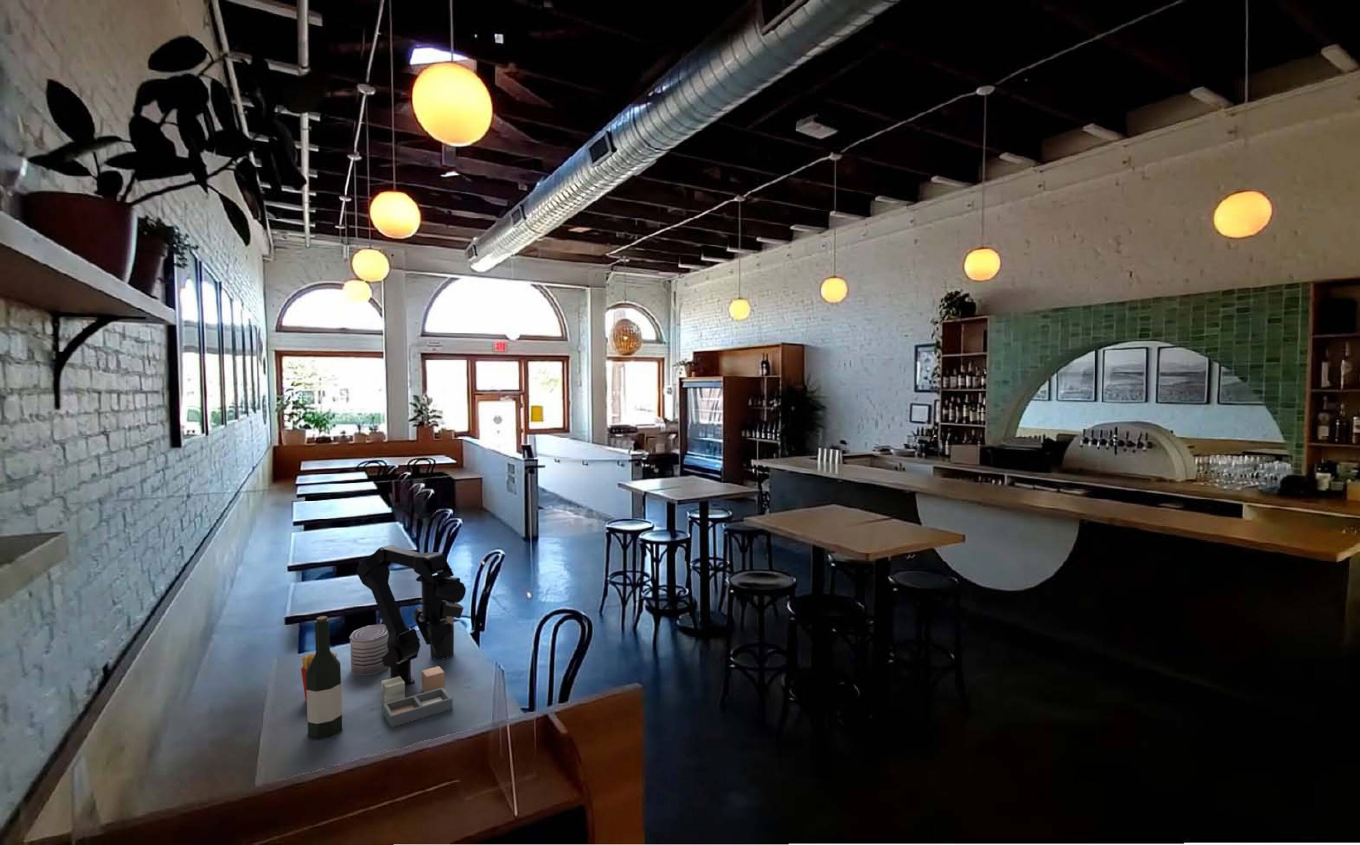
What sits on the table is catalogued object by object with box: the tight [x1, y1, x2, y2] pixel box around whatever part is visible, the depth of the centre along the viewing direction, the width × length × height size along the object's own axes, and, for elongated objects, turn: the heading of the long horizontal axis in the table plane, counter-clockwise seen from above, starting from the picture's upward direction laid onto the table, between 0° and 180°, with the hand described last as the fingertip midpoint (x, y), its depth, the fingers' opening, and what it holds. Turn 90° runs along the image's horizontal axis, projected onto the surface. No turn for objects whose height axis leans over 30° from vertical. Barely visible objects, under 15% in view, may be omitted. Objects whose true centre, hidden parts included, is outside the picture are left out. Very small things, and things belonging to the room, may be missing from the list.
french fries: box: [300, 652, 338, 702], centre depth 185 cm, size 9×4×13 cm, turn 99°
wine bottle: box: [306, 615, 343, 740], centre depth 167 cm, size 8×8×30 cm
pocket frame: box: [382, 687, 454, 728], centre depth 178 cm, size 8×16×3 cm, turn 127°
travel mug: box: [429, 616, 455, 660], centre depth 215 cm, size 8×8×20 cm
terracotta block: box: [421, 665, 446, 693], centre depth 190 cm, size 5×5×6 cm
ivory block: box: [381, 676, 406, 705], centre depth 183 cm, size 5×5×6 cm
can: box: [348, 623, 389, 677], centre depth 205 cm, size 11×11×12 cm
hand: (433, 649), depth 189 cm, fingers open, 9 cm apart
